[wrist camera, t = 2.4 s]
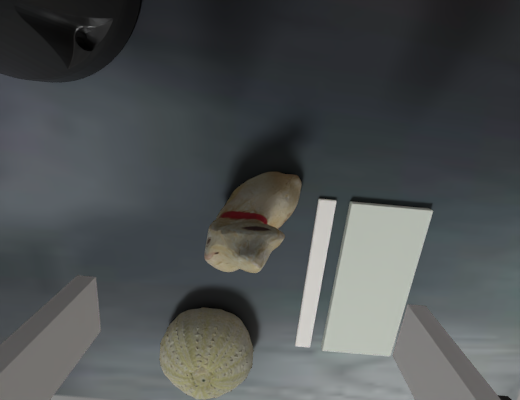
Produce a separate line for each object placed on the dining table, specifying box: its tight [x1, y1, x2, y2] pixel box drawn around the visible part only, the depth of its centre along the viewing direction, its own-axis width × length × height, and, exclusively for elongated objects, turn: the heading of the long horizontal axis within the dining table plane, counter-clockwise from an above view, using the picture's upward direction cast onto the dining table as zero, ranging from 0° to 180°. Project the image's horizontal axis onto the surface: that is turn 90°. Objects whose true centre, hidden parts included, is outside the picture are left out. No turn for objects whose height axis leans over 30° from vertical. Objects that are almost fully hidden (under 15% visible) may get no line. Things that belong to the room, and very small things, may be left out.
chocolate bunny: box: [205, 172, 301, 273], centre depth 21 cm, size 6×8×10 cm
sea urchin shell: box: [159, 307, 253, 400], centre depth 29 cm, size 9×8×8 cm
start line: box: [295, 199, 336, 347], centre depth 28 cm, size 16×2×1 cm, turn 175°
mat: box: [321, 201, 433, 356], centre depth 28 cm, size 16×7×1 cm, turn 175°
